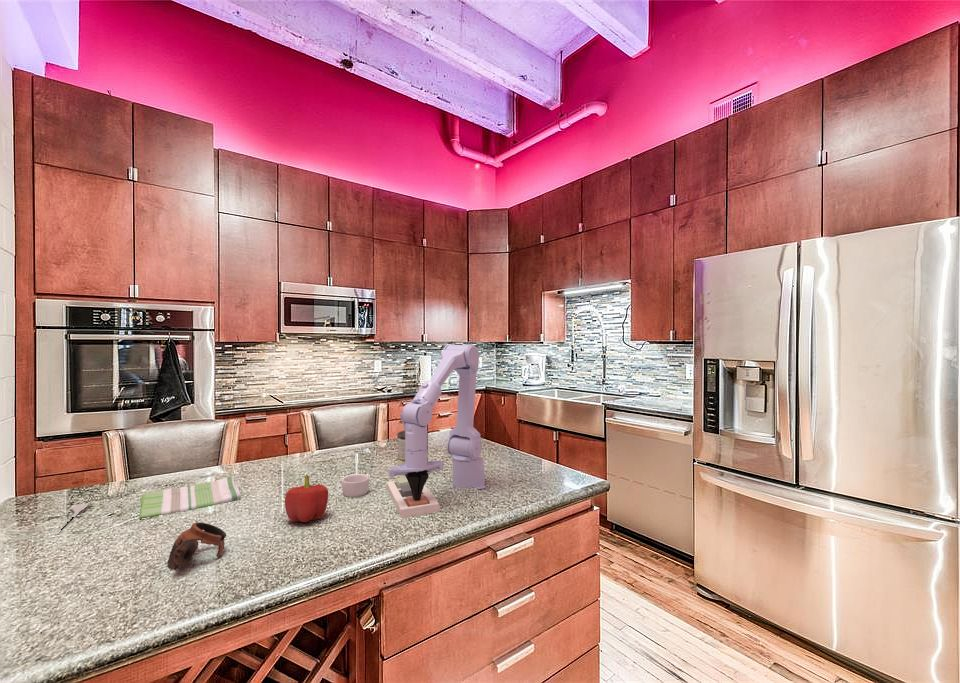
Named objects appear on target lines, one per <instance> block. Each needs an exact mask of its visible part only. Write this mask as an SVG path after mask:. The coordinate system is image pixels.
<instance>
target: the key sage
mask: <svg viewBox="0 0 960 683" xmlns="http://www.w3.org/2000/svg"><path fill="white" fill-rule="evenodd" d="M395 481H396V487H397V489H400V488H401V486H403V485H409V483H408V480H407V478H406V476H401V477H396V478H395Z"/></svg>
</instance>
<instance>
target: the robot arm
mask: <svg viewBox="0 0 960 683" xmlns="http://www.w3.org/2000/svg"><path fill="white" fill-rule="evenodd" d="M479 365H480V352H479V350H478V348H477V347H476V345H475V344H452V343H451V344H450V343H449V344H446V345H445V346H444V348H443V349H442V351H441V352H440V362H439V363H438V366H437V367H436V369H435V371H434V373H433V375H432V377H431V379H430V380H427V381H424V382H423V383H422V384H421V387H420V388H419V390H418V391H417V393H416V394H415V395H414V397H413V399H412V400H411V402H408V403H406V404H405V405H404V406H403V408H402V409H401V411H400V412H401V413H400V414H399V418H400V420H401V422H402V426H403V428H402V429H403V431H405V464H404V465H400V466H398V465H397V466H396V465H395V466H393V467H388V471H387V472H388V476H389V478H395V477H398V476H403V475H405V476H404V477H406V478H407V480H408V483H409V485H410V488H411V491H412V496H413V499H414V500H415V501H418V500H420V499H421V494H422V490H423V487H424V485H425V486H426V482H427V481H428V479H429V473H428V472H429V471H430V472H431V471H435V470H436V471H437V470H440V471H441V470H442V471H443V470H444V462H443V461H442V460H433V461H430V460H428V461H427V432H428V425H429V424H430V422H431V421H432V418H433V412H434V406H435V405H436V404H437V402H438V400H439V398H440V397H441V395H442V394H443V393H442V392H443V390H442V388H441V387H442V386H443V384H444V383H445V382H446V380H447V379H448V378H449V377H450V375H451V374H452V372H453V371H455V372H456V373H457V374H458V376H459V378H458V379H459V380H458V395H457V408H456V409H457V410H456V423H455V424H456V425H455V427H453V428H452V429H451V430H449V435H448V439H447V442H446V451H447V454H449V455H450V459H452V486H453V487H455V488H459V489H468V488H469V489H470V488H473V487H474V488H475V489H476V490H482V489H483V490H484V489H486V486H485V463H484V460H483V458H482V457H481V456H480V455H481V453H482V451H483V450H482V449H483V446H482V441H481V440H482V439H481V436H482V435H481V433H480V432H479V431H478V430H477V428H475V427H474V418H475V404H476V388H477V372H479ZM427 471H428V472H427Z"/></svg>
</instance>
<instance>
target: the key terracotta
mask: <svg viewBox="0 0 960 683" xmlns="http://www.w3.org/2000/svg"><path fill="white" fill-rule="evenodd" d="M424 504H428V501H427V499H426V498H425V496H424V495H421V499H420V500H418V501H415V500H414V499H413V496H412V497H406V505H407V506H408V507H411V506H418V505H424Z"/></svg>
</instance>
